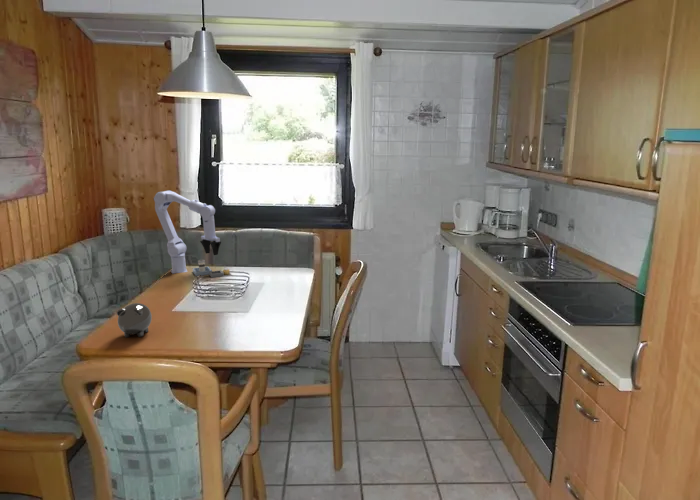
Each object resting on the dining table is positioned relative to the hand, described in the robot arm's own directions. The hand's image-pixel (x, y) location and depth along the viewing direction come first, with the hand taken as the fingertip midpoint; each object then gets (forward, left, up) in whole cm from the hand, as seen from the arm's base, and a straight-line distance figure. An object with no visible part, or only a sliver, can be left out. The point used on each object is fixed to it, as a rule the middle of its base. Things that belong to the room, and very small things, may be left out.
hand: (211, 254), depth 283 cm
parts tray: (-1, -6, -10) cm, 12 cm away
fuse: (-1, -6, -10) cm, 11 cm away
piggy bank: (+81, -42, -11) cm, 92 cm away
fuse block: (+9, +2, -10) cm, 14 cm away
